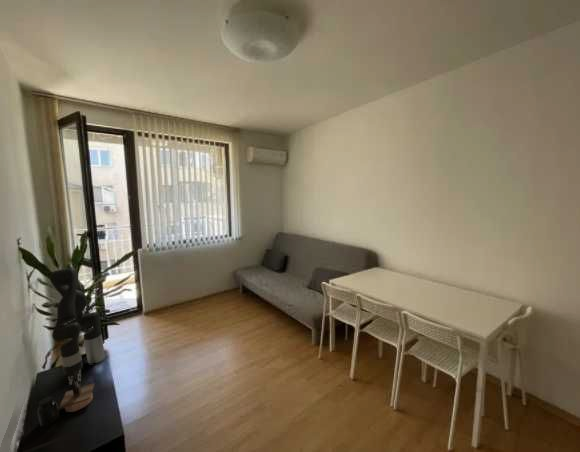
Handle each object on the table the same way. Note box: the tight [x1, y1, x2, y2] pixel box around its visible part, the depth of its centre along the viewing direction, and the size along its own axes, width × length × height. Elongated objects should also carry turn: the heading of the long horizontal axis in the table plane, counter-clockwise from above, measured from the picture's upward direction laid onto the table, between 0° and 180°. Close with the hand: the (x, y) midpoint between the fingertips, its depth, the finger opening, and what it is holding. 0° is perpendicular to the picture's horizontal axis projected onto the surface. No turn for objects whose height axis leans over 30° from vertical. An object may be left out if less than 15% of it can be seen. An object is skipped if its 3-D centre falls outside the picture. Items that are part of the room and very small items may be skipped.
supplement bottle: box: [37, 396, 60, 428], centre depth 121 cm, size 7×7×12 cm
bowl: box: [64, 392, 94, 413], centre depth 131 cm, size 11×11×5 cm
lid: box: [58, 382, 95, 410], centre depth 130 cm, size 12×12×6 cm
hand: (77, 391), depth 130 cm, fingers open, 3 cm apart
